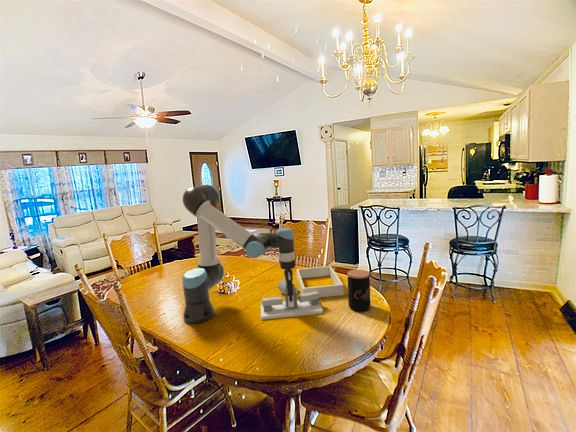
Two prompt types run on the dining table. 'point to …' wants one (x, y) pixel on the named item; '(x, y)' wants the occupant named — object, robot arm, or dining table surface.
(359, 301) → the coffee jar
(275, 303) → the white base plate
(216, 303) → the dining table surface
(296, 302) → the dark grey block
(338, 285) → the tray
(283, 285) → the ceramic mug
